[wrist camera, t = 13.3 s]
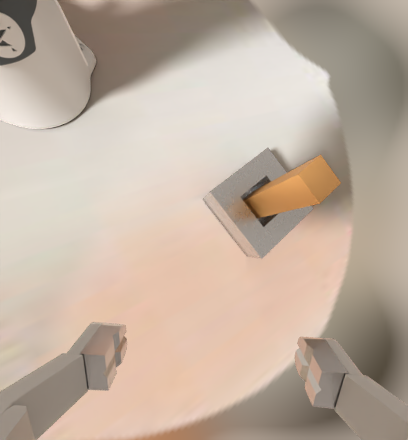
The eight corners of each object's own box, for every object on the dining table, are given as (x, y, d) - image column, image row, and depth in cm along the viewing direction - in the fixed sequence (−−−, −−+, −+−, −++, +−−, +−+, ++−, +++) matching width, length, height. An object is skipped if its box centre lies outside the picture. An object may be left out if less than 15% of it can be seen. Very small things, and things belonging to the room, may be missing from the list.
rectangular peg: (238, 203, 31) (298, 174, 18) (253, 191, 32) (320, 154, 19) (251, 219, 31) (319, 203, 18) (265, 207, 32) (341, 182, 19)
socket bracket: (202, 199, 31) (210, 191, 26) (253, 160, 34) (268, 147, 29) (246, 256, 31) (261, 258, 27) (292, 213, 34) (313, 208, 30)
